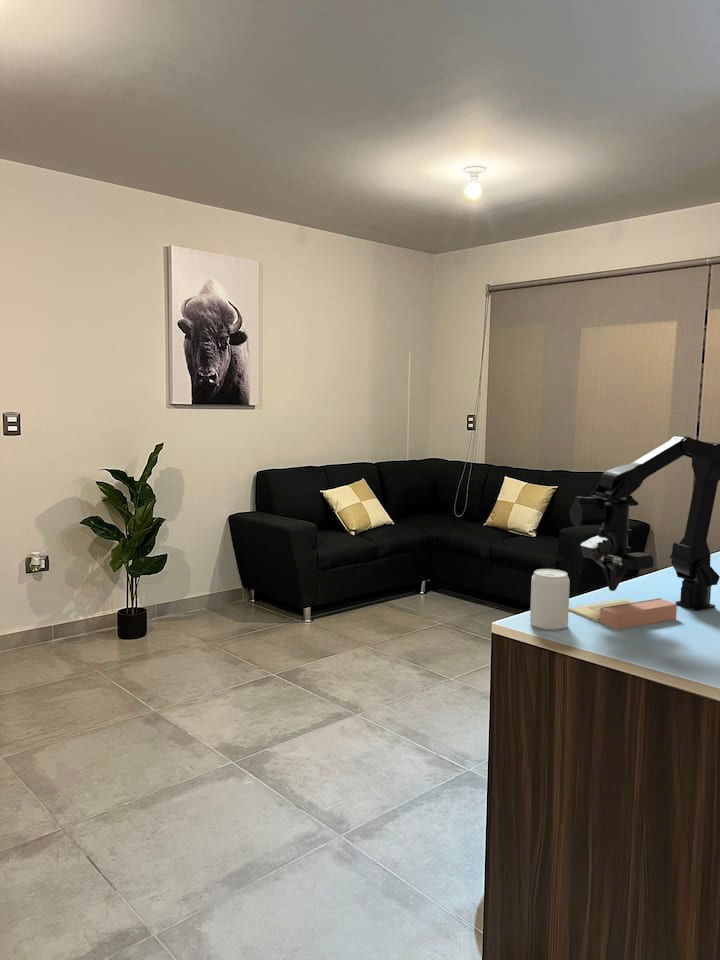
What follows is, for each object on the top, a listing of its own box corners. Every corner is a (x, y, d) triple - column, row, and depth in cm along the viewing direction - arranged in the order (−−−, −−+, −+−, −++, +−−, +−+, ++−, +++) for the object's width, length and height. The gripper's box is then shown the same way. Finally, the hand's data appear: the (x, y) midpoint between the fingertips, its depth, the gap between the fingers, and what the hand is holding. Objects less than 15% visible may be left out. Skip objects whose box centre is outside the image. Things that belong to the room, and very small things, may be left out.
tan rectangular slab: (625, 601, 181) (625, 598, 181) (657, 612, 172) (657, 609, 172) (568, 610, 173) (568, 607, 173) (598, 622, 164) (598, 619, 164)
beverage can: (569, 633, 157) (571, 578, 156) (530, 630, 159) (532, 576, 157) (566, 621, 165) (568, 569, 164) (529, 619, 167) (531, 567, 165)
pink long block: (658, 613, 171) (659, 598, 171) (676, 619, 167) (677, 603, 166) (599, 623, 164) (600, 607, 163) (616, 629, 159) (617, 613, 159)
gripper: (560, 520, 175) (558, 584, 176) (619, 534, 158) (615, 605, 160) (596, 517, 179) (594, 579, 181) (656, 530, 163) (653, 599, 164)
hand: (612, 590), depth 172 cm, fingers closed
